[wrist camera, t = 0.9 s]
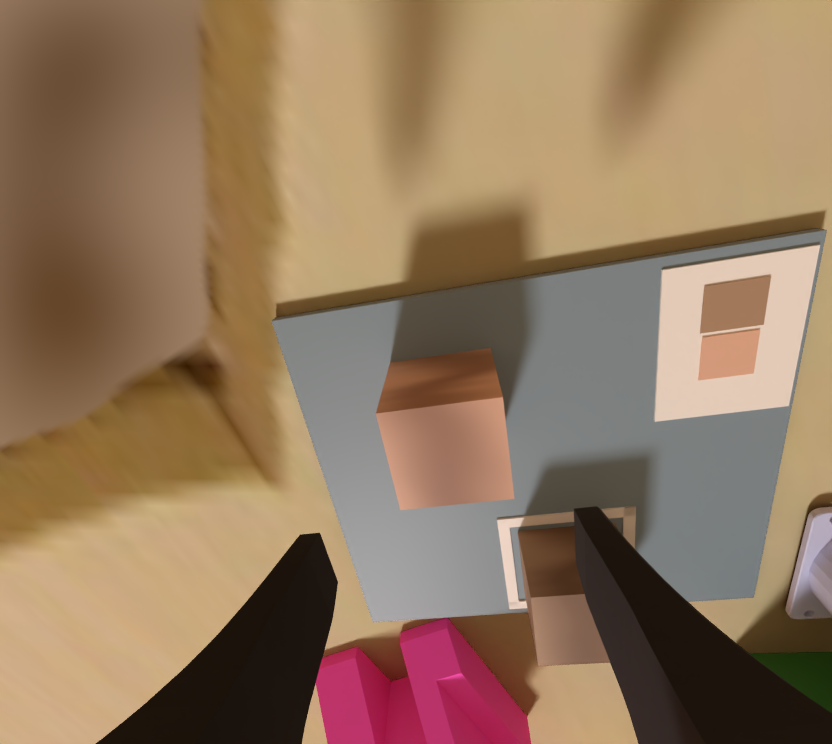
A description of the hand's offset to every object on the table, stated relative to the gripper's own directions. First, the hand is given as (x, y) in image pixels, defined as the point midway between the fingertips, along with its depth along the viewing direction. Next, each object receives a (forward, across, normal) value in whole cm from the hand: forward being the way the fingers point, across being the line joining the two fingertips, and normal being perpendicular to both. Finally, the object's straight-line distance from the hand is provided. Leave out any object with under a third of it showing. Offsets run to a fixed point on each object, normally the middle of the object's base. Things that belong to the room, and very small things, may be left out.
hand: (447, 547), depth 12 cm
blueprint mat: (+9, -4, +5) cm, 11 cm away
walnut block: (+9, -5, +11) cm, 15 cm away
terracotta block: (+9, 0, 0) cm, 9 cm away
